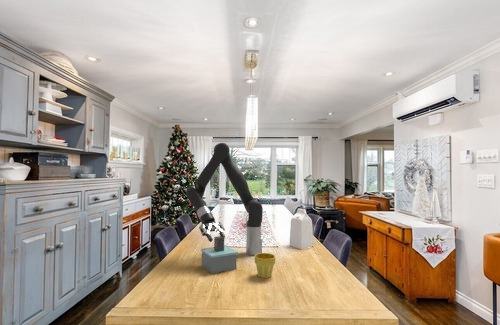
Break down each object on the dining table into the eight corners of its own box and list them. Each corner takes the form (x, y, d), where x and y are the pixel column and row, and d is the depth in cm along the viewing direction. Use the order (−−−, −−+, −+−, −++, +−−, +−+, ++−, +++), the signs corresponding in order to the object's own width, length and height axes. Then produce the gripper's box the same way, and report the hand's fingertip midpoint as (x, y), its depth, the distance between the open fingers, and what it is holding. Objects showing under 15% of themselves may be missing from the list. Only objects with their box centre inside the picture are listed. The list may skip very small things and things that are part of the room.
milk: (313, 247, 192) (313, 209, 193) (301, 249, 185) (301, 210, 186) (301, 243, 202) (301, 207, 203) (289, 245, 195) (289, 208, 196)
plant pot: (273, 280, 130) (274, 259, 131) (252, 278, 133) (252, 258, 133) (276, 272, 141) (276, 253, 141) (256, 271, 143) (256, 252, 143)
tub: (224, 261, 157) (225, 247, 158) (236, 269, 145) (236, 253, 146) (201, 265, 150) (201, 250, 150) (211, 273, 138) (212, 257, 138)
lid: (225, 248, 158) (225, 233, 159) (237, 255, 145) (238, 238, 146) (200, 252, 151) (201, 235, 151) (211, 259, 138) (211, 241, 138)
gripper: (198, 213, 151) (210, 237, 142) (218, 210, 161) (231, 233, 152) (192, 221, 154) (204, 246, 146) (212, 218, 164) (224, 241, 156)
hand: (217, 239), depth 149 cm, fingers open, 8 cm apart
